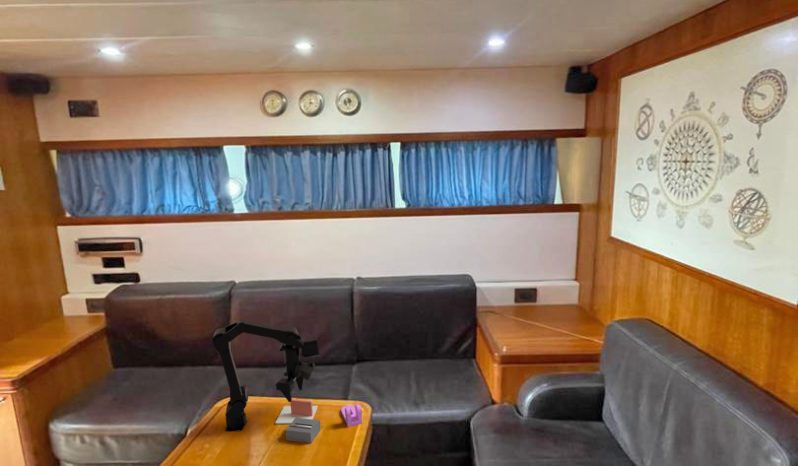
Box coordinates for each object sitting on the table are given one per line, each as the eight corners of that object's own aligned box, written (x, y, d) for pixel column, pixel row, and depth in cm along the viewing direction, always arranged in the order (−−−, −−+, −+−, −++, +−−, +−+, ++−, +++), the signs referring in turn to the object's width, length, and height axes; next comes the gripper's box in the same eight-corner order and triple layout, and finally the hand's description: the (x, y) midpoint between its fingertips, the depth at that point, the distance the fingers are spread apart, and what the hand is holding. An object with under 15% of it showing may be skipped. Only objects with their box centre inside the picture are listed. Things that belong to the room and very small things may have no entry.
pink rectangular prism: (290, 400, 178) (310, 402, 176) (291, 399, 179) (311, 401, 177) (291, 414, 179) (312, 416, 177) (292, 412, 180) (312, 415, 178)
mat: (275, 424, 174) (275, 422, 173) (284, 407, 185) (284, 406, 185) (310, 423, 173) (310, 422, 173) (317, 406, 185) (317, 405, 185)
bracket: (362, 423, 172) (361, 407, 171) (348, 427, 170) (347, 410, 169) (353, 407, 184) (352, 391, 183) (339, 410, 182) (338, 394, 181)
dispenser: (286, 439, 163) (285, 428, 163) (296, 427, 171) (295, 415, 170) (311, 443, 161) (310, 431, 160) (320, 430, 169) (319, 418, 168)
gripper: (300, 371, 164) (303, 410, 167) (321, 350, 182) (323, 386, 185) (273, 369, 167) (276, 407, 170) (296, 348, 185) (299, 383, 187)
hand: (295, 395), depth 178 cm, fingers open, 9 cm apart
